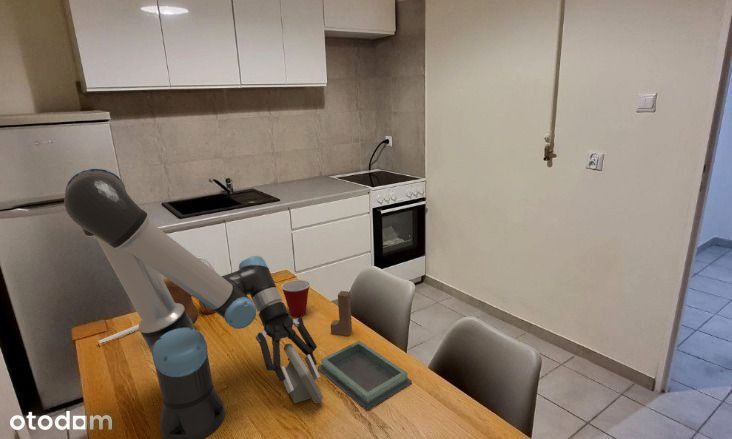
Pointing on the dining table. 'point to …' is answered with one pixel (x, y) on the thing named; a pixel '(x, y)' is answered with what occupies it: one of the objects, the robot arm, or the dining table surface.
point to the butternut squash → (182, 298)
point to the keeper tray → (364, 374)
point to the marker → (120, 334)
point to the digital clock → (300, 378)
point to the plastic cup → (296, 296)
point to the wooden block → (343, 316)
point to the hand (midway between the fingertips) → (304, 384)
